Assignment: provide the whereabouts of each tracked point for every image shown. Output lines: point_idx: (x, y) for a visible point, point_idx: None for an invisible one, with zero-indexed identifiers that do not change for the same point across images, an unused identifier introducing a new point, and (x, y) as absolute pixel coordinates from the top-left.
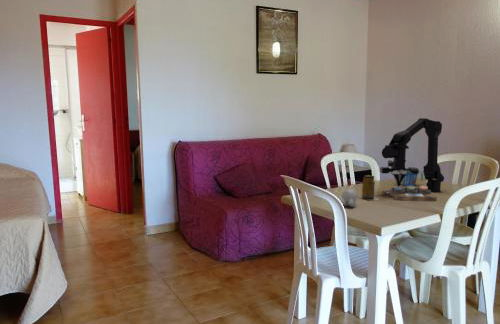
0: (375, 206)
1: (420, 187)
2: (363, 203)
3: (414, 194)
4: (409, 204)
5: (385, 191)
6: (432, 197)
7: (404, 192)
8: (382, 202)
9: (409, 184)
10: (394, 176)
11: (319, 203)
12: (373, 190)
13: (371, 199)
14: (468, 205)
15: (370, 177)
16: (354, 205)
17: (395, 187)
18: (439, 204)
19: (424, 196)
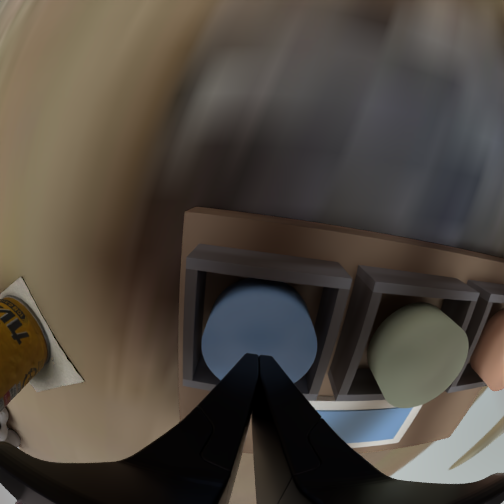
0: (77, 461)
1: (486, 371)
2: (29, 415)
3: (358, 427)
4: (239, 482)
5: (213, 49)
6: (429, 441)
7: (306, 381)
8: (99, 433)
9: None
10: (144, 466)
11: None
12: (15, 395)
13: (42, 372)
14: (480, 447)
15: None
16: (18, 445)
17: (222, 333)
18: (397, 468)
19: (402, 436)
